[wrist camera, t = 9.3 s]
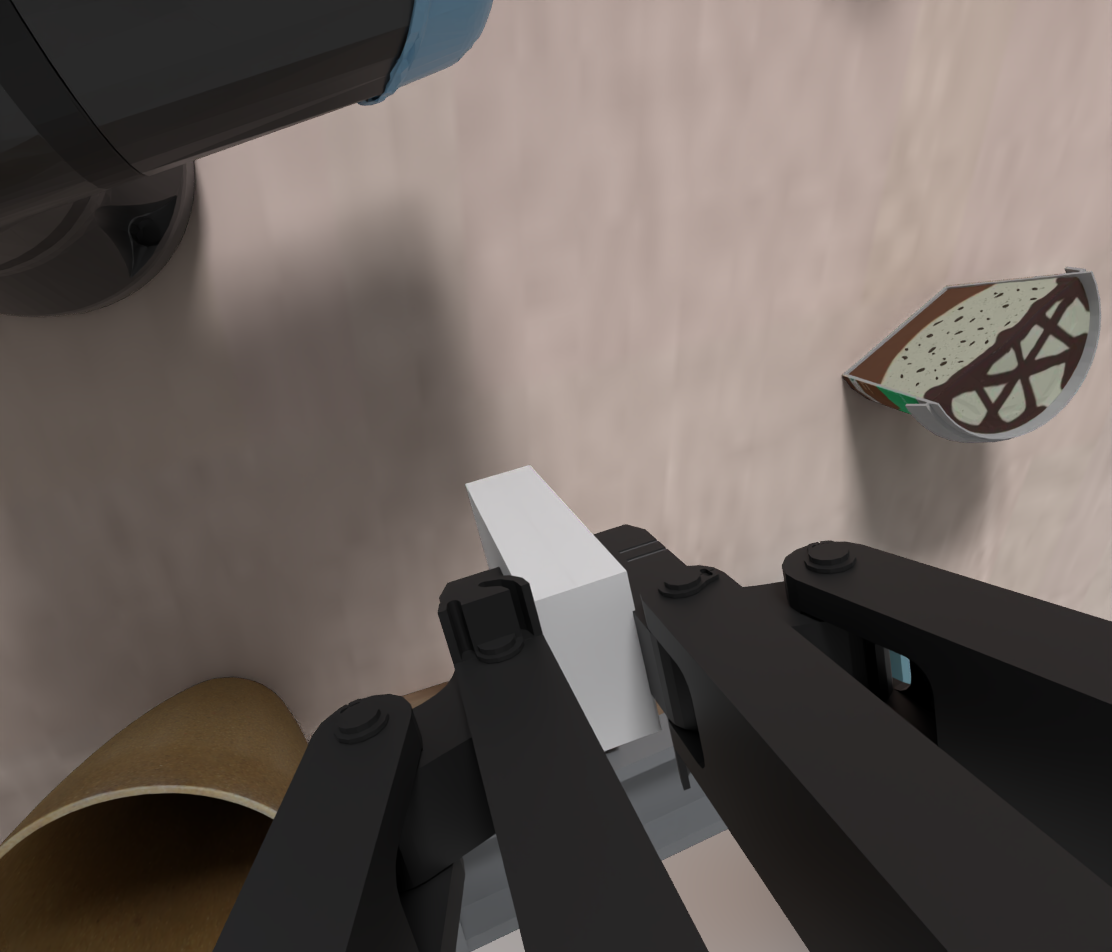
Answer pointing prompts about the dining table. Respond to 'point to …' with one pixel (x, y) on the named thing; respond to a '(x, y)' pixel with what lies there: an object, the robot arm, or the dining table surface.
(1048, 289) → the food container
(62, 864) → the plant pot
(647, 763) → the trough
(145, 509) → the dining table surface
